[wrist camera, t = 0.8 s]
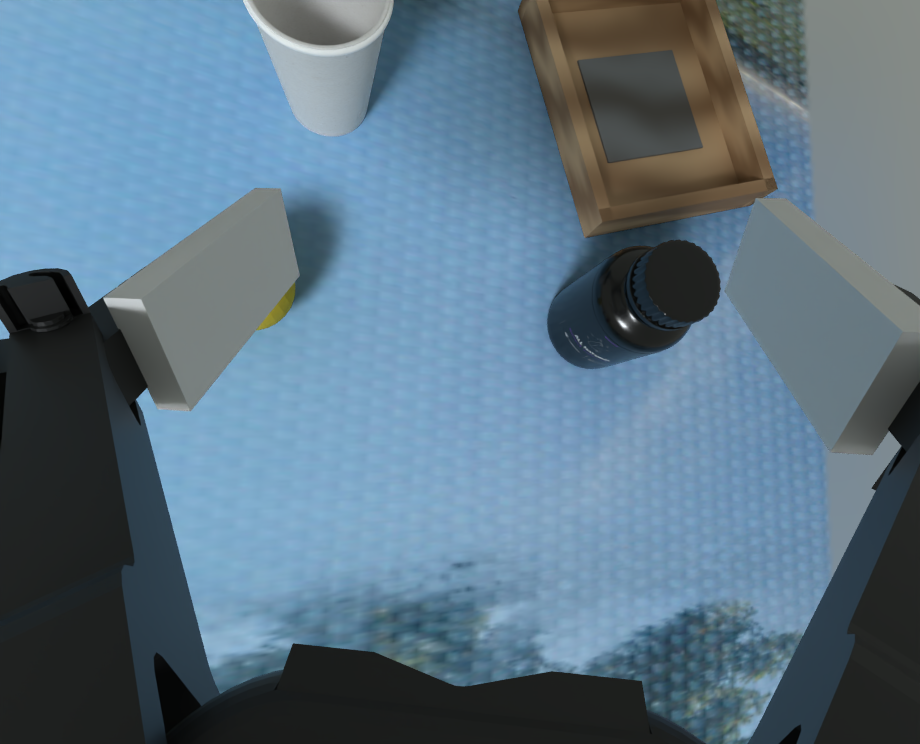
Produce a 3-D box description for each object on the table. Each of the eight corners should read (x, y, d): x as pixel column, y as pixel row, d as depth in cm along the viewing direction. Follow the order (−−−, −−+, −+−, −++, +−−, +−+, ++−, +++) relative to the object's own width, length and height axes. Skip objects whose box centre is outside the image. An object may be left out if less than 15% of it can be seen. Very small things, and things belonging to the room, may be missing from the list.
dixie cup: (248, 118, 36) (208, 0, 27) (302, 30, 38) (282, -112, 28) (355, 173, 37) (354, 78, 28) (403, 85, 39) (417, -34, 29)
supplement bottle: (545, 370, 38) (627, 338, 26) (543, 282, 39) (621, 214, 27) (629, 372, 39) (742, 342, 28) (624, 287, 40) (732, 223, 29)
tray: (517, 10, 42) (529, -22, 39) (682, -3, 45) (704, -34, 42) (584, 237, 40) (602, 221, 37) (750, 205, 44) (777, 188, 41)
